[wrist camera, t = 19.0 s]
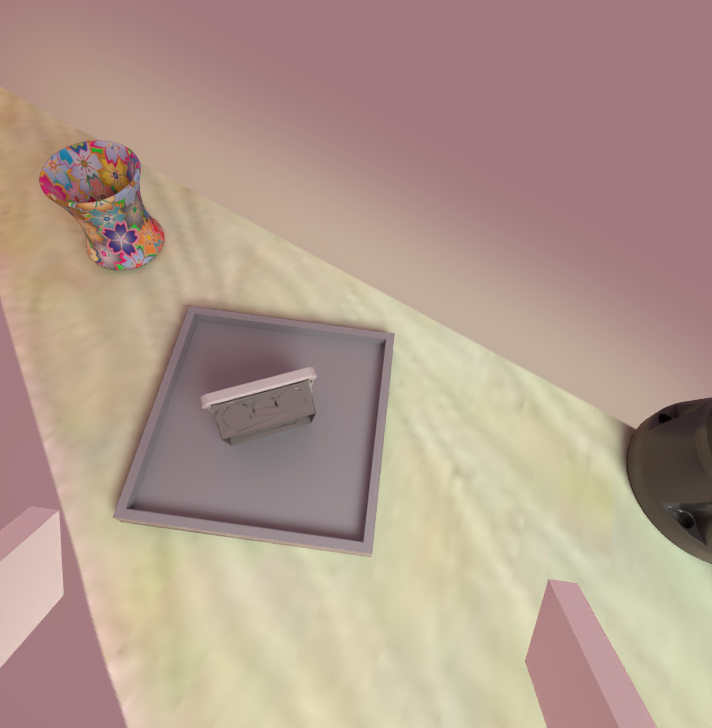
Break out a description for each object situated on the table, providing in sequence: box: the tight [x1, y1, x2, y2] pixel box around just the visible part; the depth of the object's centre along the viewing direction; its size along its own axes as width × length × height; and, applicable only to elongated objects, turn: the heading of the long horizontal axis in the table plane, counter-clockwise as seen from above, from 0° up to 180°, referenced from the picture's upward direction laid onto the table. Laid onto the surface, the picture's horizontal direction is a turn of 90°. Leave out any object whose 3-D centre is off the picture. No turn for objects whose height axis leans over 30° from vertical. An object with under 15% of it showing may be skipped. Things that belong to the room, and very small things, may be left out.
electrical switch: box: [200, 367, 317, 445], centre depth 42 cm, size 9×5×9 cm, turn 108°
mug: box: [39, 141, 164, 270], centre depth 52 cm, size 12×9×11 cm
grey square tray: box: [113, 306, 394, 557], centre depth 46 cm, size 22×22×2 cm
